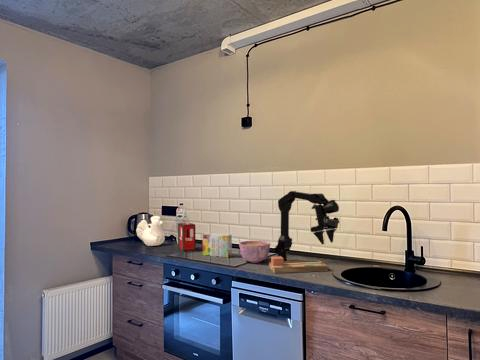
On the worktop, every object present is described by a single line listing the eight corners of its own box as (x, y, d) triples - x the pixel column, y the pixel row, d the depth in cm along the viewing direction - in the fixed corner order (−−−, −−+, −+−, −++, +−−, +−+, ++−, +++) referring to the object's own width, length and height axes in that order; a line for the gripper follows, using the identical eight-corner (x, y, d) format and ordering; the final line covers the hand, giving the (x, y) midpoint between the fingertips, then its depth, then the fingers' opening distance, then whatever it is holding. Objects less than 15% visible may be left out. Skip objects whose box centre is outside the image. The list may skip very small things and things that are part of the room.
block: (271, 263, 194) (271, 256, 194) (281, 263, 194) (281, 256, 194) (273, 266, 188) (273, 258, 188) (283, 265, 188) (283, 258, 188)
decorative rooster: (168, 244, 278) (168, 215, 278) (155, 248, 264) (155, 216, 265) (146, 243, 290) (146, 214, 291) (132, 245, 276) (132, 215, 277)
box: (269, 266, 195) (269, 261, 195) (318, 264, 198) (318, 259, 198) (274, 273, 179) (274, 268, 179) (328, 271, 183) (328, 265, 183)
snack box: (232, 256, 226) (232, 234, 226) (227, 258, 221) (227, 235, 222) (207, 253, 237) (206, 232, 237) (202, 255, 232) (202, 233, 232)
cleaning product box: (195, 251, 246) (195, 224, 246) (183, 252, 242) (183, 225, 243) (189, 248, 261) (189, 222, 261) (178, 249, 257) (177, 223, 258)
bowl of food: (268, 265, 198) (268, 246, 198) (236, 264, 202) (235, 245, 202) (272, 258, 217) (272, 240, 218) (242, 257, 221) (242, 240, 222)
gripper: (324, 213, 174) (331, 243, 171) (342, 212, 187) (349, 239, 184) (307, 217, 182) (313, 246, 179) (325, 215, 195) (331, 242, 192)
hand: (327, 243), depth 183 cm, fingers open, 9 cm apart
